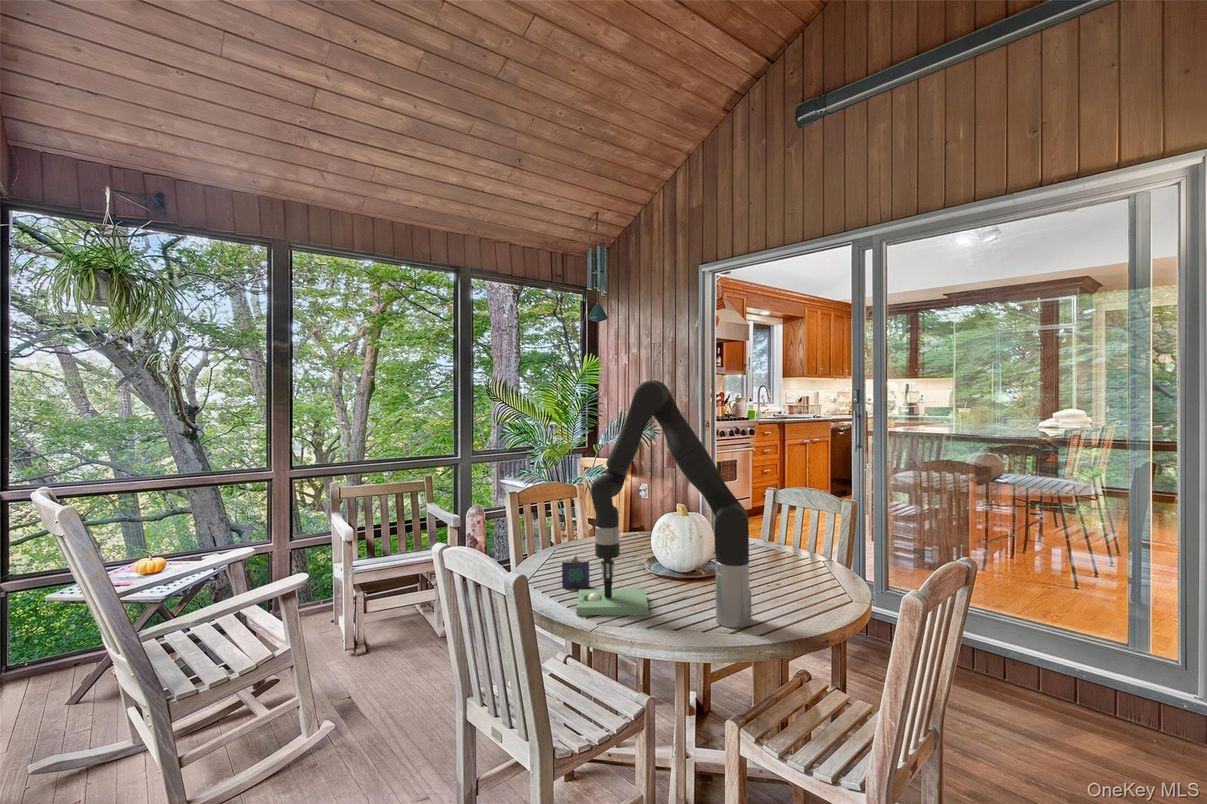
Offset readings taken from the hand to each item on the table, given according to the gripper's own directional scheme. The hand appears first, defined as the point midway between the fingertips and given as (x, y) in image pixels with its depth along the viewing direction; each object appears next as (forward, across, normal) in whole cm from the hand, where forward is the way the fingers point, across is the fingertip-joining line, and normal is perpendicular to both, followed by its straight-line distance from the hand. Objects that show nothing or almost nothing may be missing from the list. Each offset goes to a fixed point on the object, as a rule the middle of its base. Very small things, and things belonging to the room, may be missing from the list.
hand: (608, 596), depth 172 cm
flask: (+3, +17, +11) cm, 21 cm away
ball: (+1, 0, +4) cm, 4 cm away
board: (+3, 0, -1) cm, 3 cm away
